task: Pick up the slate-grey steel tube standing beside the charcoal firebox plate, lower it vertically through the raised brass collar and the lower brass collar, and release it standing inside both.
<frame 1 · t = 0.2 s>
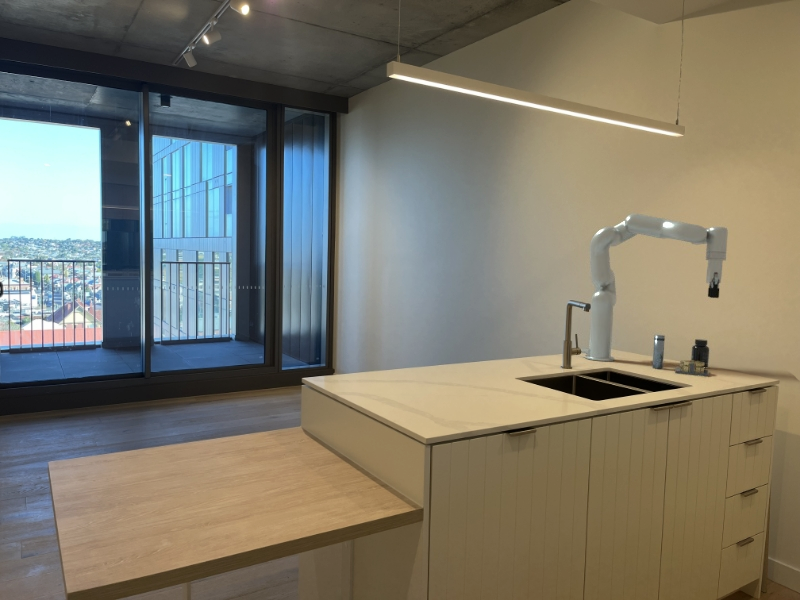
hand: (713, 297, 257), 31 cm above the table, fingers open, 9 cm apart
steel tube: (657, 368, 258), on the table
supplement bottle: (699, 367, 266), on the table
firebox: (691, 372, 250), on the table
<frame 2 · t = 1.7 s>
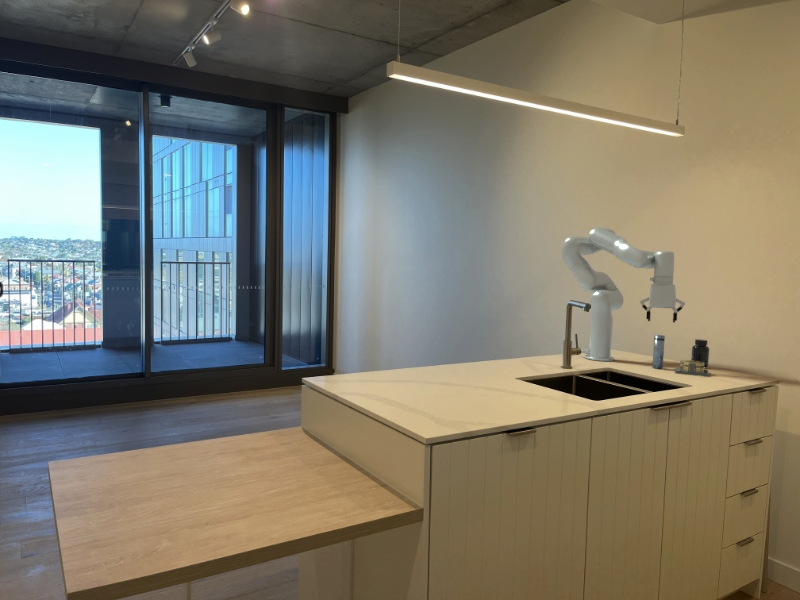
hand: (661, 321, 257), 20 cm above the table, fingers open, 9 cm apart
nothing on the table moved.
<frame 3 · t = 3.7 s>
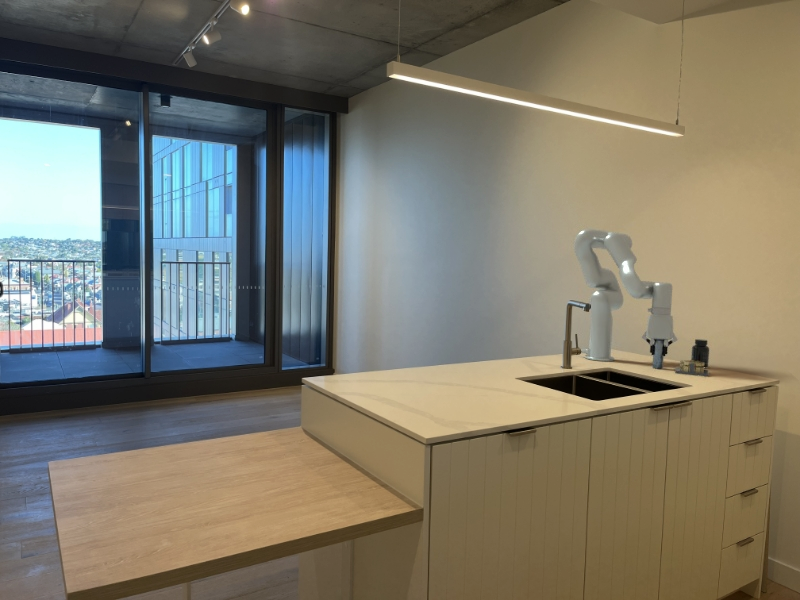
hand: (658, 354, 258), 6 cm above the table, fingers closed on steel tube, 4 cm apart
steel tube: (657, 368, 258), on the table, touching gripper
everything else where it was.
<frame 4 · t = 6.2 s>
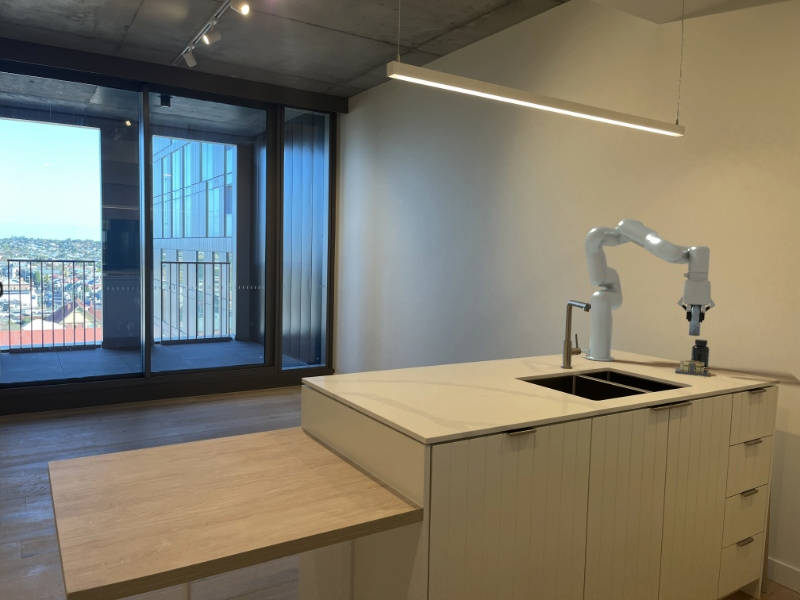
hand: (695, 321, 248), 21 cm above the table, fingers closed on steel tube, 4 cm apart
steel tube: (694, 335, 249), point 15 cm above the table, touching gripper
everything else where it was.
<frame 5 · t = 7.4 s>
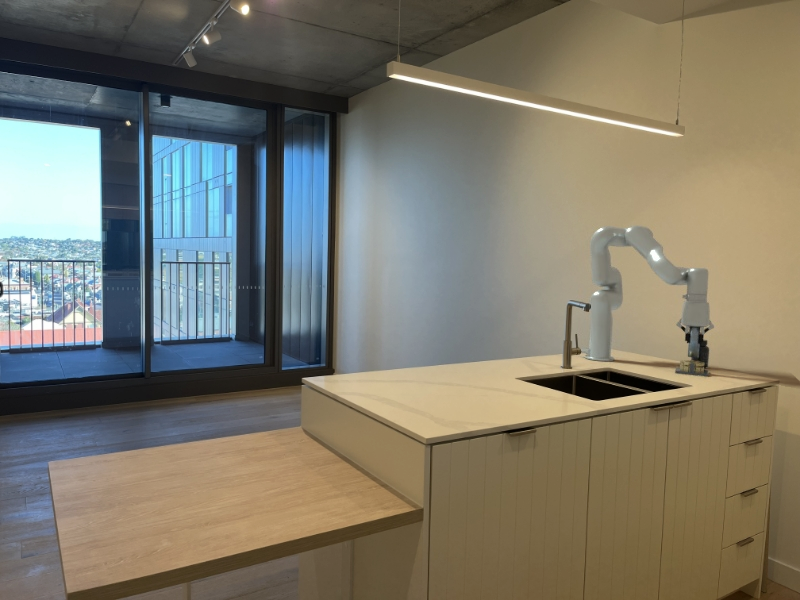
hand: (693, 342, 249), 12 cm above the table, fingers closed on steel tube, 4 cm apart
steel tube: (693, 356, 249), point 7 cm above the table, touching gripper
everything else where it was.
when the fingers open (8 cm above the table, at t = 8.7 s): steel tube drops 1 cm, resting on firebox.
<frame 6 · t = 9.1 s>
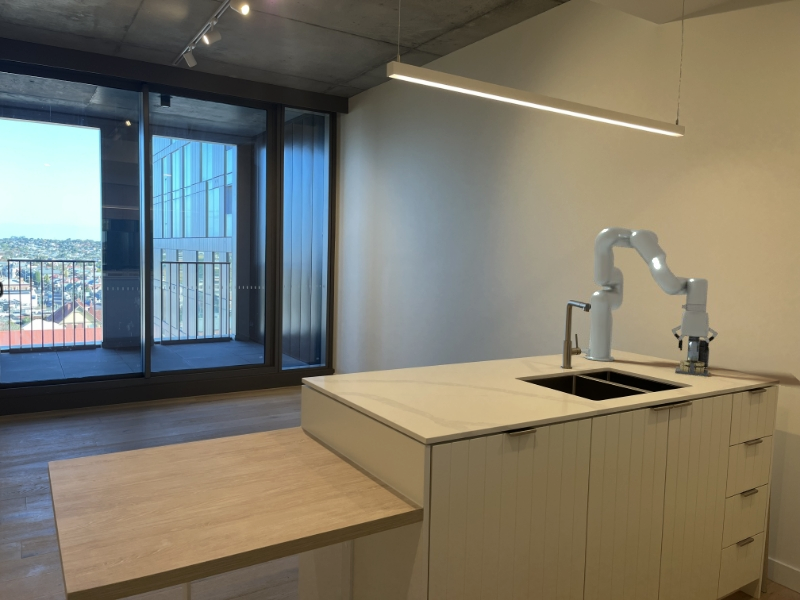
hand: (693, 351, 249), 9 cm above the table, fingers open, 8 cm apart
steel tube: (691, 370, 250), point 1 cm above the table, touching firebox
everything else where it was.
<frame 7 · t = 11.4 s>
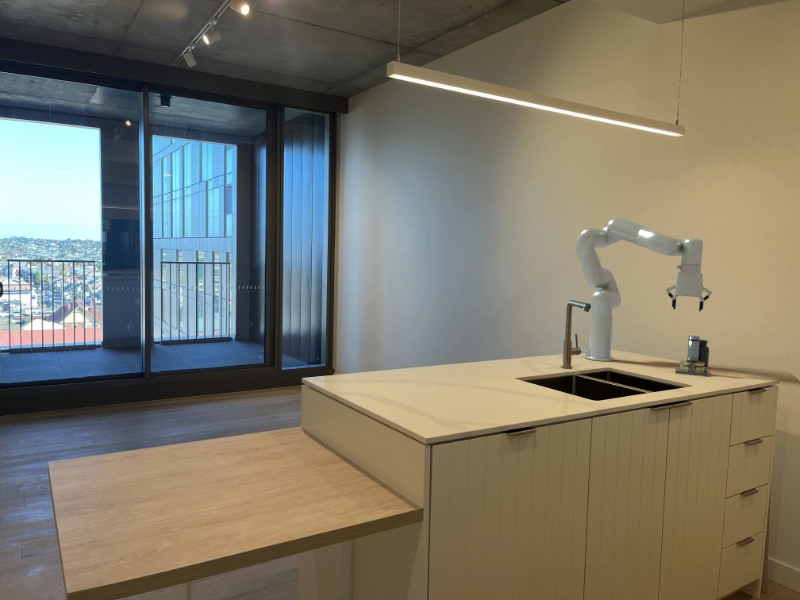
hand: (687, 310, 254), 25 cm above the table, fingers open, 9 cm apart
nothing on the table moved.
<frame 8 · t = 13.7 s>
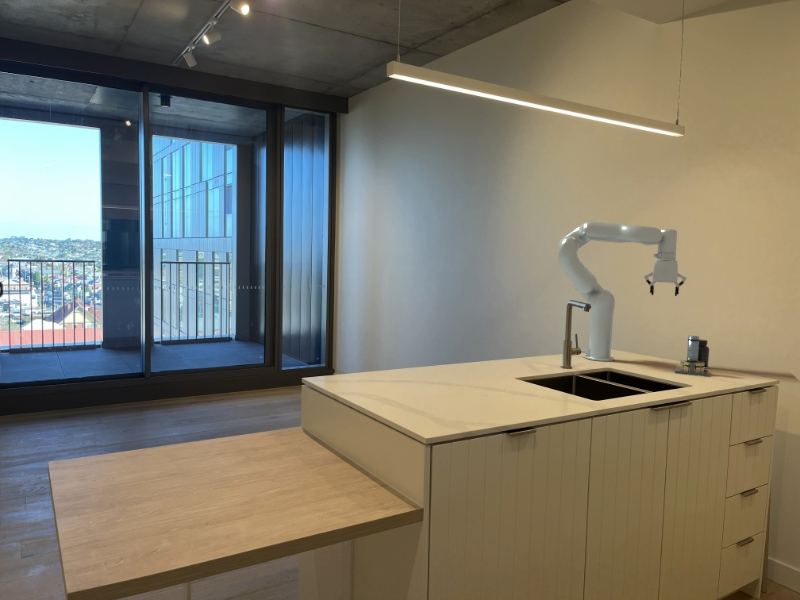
hand: (664, 295, 273), 30 cm above the table, fingers open, 9 cm apart
nothing on the table moved.
at the end: steel tube 0.1 cm off-centre on the firebox, point 1.0 cm above the firebox's base; steel tube tilted 1°; the gripper is holding nothing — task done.
